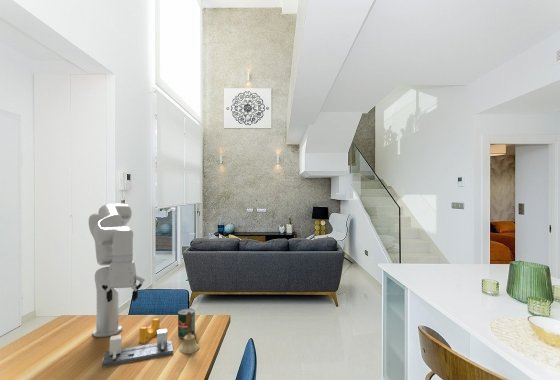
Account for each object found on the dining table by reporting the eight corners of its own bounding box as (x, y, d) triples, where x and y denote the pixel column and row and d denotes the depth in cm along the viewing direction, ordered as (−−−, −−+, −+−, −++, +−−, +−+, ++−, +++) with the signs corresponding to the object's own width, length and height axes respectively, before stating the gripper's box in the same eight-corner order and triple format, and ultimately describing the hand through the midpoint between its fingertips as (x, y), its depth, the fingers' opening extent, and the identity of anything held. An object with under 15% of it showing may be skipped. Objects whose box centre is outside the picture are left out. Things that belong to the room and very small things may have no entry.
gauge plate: (105, 355, 132) (105, 337, 132) (171, 343, 142) (171, 326, 142) (102, 367, 122) (102, 347, 123) (172, 354, 132) (173, 336, 133)
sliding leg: (110, 350, 132) (110, 336, 132) (121, 348, 133) (121, 334, 133) (108, 360, 124) (108, 345, 124) (119, 358, 125) (119, 343, 125)
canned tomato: (194, 330, 156) (194, 307, 157) (195, 336, 149) (195, 313, 149) (177, 332, 154) (177, 309, 154) (177, 339, 146) (177, 315, 147)
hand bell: (180, 355, 131) (181, 316, 132) (178, 347, 139) (178, 310, 139) (201, 351, 135) (201, 313, 135) (197, 343, 142) (197, 307, 143)
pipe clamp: (151, 331, 155) (151, 318, 156) (159, 331, 155) (159, 318, 155) (136, 342, 144) (136, 328, 144) (144, 343, 143) (144, 328, 143)
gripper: (96, 261, 126) (95, 304, 125) (141, 260, 128) (141, 302, 127) (104, 257, 133) (103, 298, 133) (147, 256, 135) (146, 296, 135)
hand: (122, 300), depth 130 cm, fingers open, 9 cm apart
